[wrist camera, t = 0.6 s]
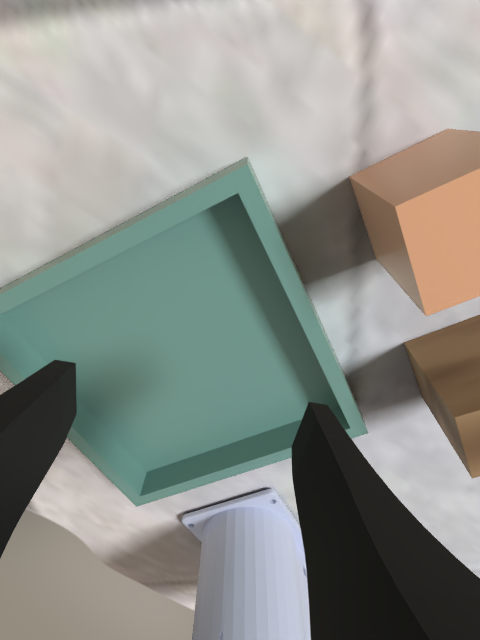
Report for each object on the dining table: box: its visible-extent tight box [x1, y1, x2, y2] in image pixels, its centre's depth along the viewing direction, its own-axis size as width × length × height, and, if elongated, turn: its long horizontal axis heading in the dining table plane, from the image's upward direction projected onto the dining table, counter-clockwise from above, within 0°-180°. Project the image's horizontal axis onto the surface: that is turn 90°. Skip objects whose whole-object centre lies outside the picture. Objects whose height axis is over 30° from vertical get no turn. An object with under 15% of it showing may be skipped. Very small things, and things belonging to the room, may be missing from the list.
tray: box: [0, 157, 368, 507], centre depth 21 cm, size 16×16×2 cm
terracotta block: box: [349, 129, 480, 316], centre depth 15 cm, size 4×4×6 cm
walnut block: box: [404, 315, 480, 478], centre depth 19 cm, size 4×4×6 cm
